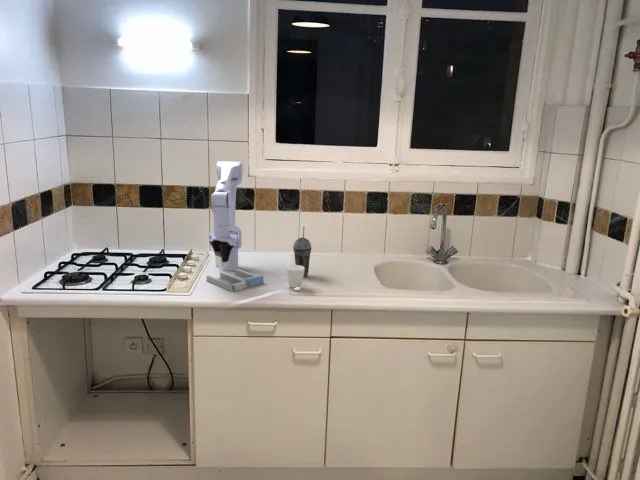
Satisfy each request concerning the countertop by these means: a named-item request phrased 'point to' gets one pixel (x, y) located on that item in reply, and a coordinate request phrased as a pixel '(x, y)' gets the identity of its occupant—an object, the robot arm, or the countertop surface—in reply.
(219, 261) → the grey rectangular block
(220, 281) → the grey tray
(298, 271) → the cup
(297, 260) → the beverage cup
